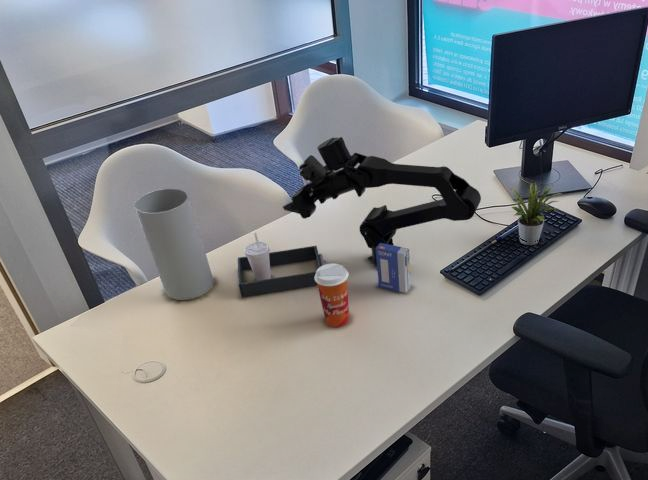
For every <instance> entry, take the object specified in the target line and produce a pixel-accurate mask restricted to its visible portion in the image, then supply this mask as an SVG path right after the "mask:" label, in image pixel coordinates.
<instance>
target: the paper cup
mask: <svg viewBox="0 0 648 480" xmlns="http://www.w3.org/2000/svg"><path fill="white" fill-rule="evenodd" d="M315 272H316V274H315V277H314V279H315V281H316V282H317V286H316V287H317V290H318V294H319V299H320V303H321V307H322V312H323V315H324V320H325V323H326V325H327V326H329V327H331V328H341V327H344V326H346V325H347V324H348V323H349V321H350V306H349V290H348V289H349V288H348V277H349V271H348V270H347V269H346V268H345V267H344V265H342V264H339V263H325V265H323V266H321V267H319V268H318V267H317V269H316V271H315Z"/></svg>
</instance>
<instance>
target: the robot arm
mask: <svg viewBox="0 0 648 480" xmlns="http://www.w3.org/2000/svg"><path fill="white" fill-rule="evenodd" d="M316 149H317V151H318V153H319V155H320V157H321V158H322V160H323V163H324V164H325V165H323V164H322V163H321V162H320V161H319V160H318V159H317V158H316V157H315V156H314V155H309V156H307V158H306V159H305V160H304V161H303V162H302V163H301V164H300V165H299V166H298V167H297V170H298V172H299V175H300V176H301V177H302V178H303V180H305V181H309V182H307V183H306V184H305V185H303V186H302V187H300V188H299V189H298V190H297V191H295V193H294V194H293V195H292V196H291V200H290V201H288V202H287V203H285V204H283V206H282V208H283V210H284V211H287V212H291V213H295V214H298V215H300V217H301V218H302V219H303V220H304V219H308V218H310V217H311V216H312V215H313V214H314V213H315V212H316V209H317V205H316V202H317V201H318V202H319V204H320V205H322V204H324V203H325V202H327V200H329V199H332V200H337V198H339V196H340V195H344V194H346V193H349V192H352V191H354V192H356V196H357V197H358V198H361V197H362V195H363V194H364V193H365V192H366V189H371V188H372V189H373V188H379V187H380V188H381V187H384V186H387V185H401V186H402V185H403V186H413V187H423V188H425V187H427V188H435V190H437V192H439V194H440V196H441V199H437V200H434V201H430V202H429V201H428V202H425V203H421V204H418V205H414V206H413V205H412V206H409V207H405V208H401V209H398V210H390V209H388V207H387V204H384V205H382V206H378V207H372V209H371V211H370V212H368V214H367V215H366V216H365V218H364V219H363V221H362V222H361V223H360V225H359V233H360V235H361V237H363V239H364V242H365V243H366V245H367V248H368V249H371V256H368V257H367V261H369V262H370V263H371V264H372V265H373V266H375V267H376V268H377V260H376V247H377V246H378V245H379V244H380V243H384V244H389V245H394V244H395V243H394V240H393V238H394V236H395V235H396V233H397V230H400V229H405V228H408V227H413V226H418V225H421V224H422V225H423V224H426V223H430V222H434V221H435V222H436V221H438V220H443V219H445V220H449V221H452V222H460V221H468V220H471V219H472V218H473V217H474V216H475V213H476V212H477V209H478V207H479V205H480V204H481V200H482V198H481V193H480V192H479V189H478V190H477V188H475V187H474V186H472V185H471V184H469V182H468V181H467V180H466V179H464V178H463V177H462V176H459V175H457V174H455V173H454V172H453V171H452V169H450V168H449V167H448V166H445V165H442V166H429V165H428V166H427V165H416V164H414V165H413V164H402V163H393V162H391V161H389V160H388V159H386V158H383V157H378V156H376V155H375V156H374V155H369V156H368V155H365V154H361V153H359V152H353V154H351V153H350V151H349V149H348V147H347V145H346V143H345V140H344V138H343V137H342V136H340V137H334V136H333V137H330V138H329V139H327V140H325V141H323V142H322V143H320V144H319V145H318V146H316ZM358 164H359V165H358ZM357 165H358V166H357ZM356 166H357V167H356ZM394 246H395V245H394Z"/></svg>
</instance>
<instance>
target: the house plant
mask: <svg viewBox="0 0 648 480" xmlns="http://www.w3.org/2000/svg"><path fill="white" fill-rule="evenodd" d="M553 186H554V184H553V183H552V184H550V185H549V186H548V187H547V188H546V189H545V190H544V192H543V193H542V194H541V195H540V197H538V196H539V193H540V192H541V190H539V189H538V184H537V182H534V183H533V182H530V185H529V190H528V198H527V206H526V203H525V201H524V199H523V197H522V195H521V194H520V193H519V192H518V191H516V190H515V189H513V188H511V187H510V190H511V191H512V192H513V193H514V194H515V196H516V197H517V198H518V199H517V198H515V200H516V203H517V206H511V209H512V210H514V211H516V213H515V214H514V215H513V217H515V216H519V217H518V218H517V225H518V237H519V236H520V237H519V242H520V243H521V244H523V245H526V246H535V245H537V244H538V243H539V240H540V237H541V234H542V231H543V228H544V225H545V216H546V215H547V214H548V213H550V212H552V211H555V210H559V208H558V207H554V208H553V207H550V206H549V205H550V204H552V203H558V202H560V201H559V200H551V201H549V200H550V199H552V198H554V197H556V196H558V195H559V196H560V195H562V193H559V192H558V193H557V192H556V193H553V194H551V195H549V196H547V195H548V194H549V192H551V188H552V187H553ZM546 196H547V197H546ZM538 198H539V199H538ZM548 201H549V202H548ZM546 202H547V203H546ZM543 205H544V206H543ZM542 206H543V207H542ZM541 208H542V209H541ZM545 211H546V212H545ZM543 212H545V213H543ZM542 213H543V214H542ZM540 214H542V215H540ZM520 238H521V239H523V240H525V241H527V242H525V241H522V240H521V239H520ZM537 240H538V241H537ZM535 241H536V242H535Z"/></svg>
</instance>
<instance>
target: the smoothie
mask: <svg viewBox="0 0 648 480" xmlns="http://www.w3.org/2000/svg"><path fill="white" fill-rule="evenodd" d="M253 235H254V239H255V242H252V243H250V244H248V245H246V246H245V248H244V250H243V251H244V252H243V253H244V257H247V258H248V261H249V263H250V265H251V268H252V273H253V275H254V278H255V281H260V280H266V279H272V275H271V267H270V260H269V253H271V248H270V245H269V244H268V243H266V242H261V241H259V238H258V235H257V232H254V233H253Z"/></svg>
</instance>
